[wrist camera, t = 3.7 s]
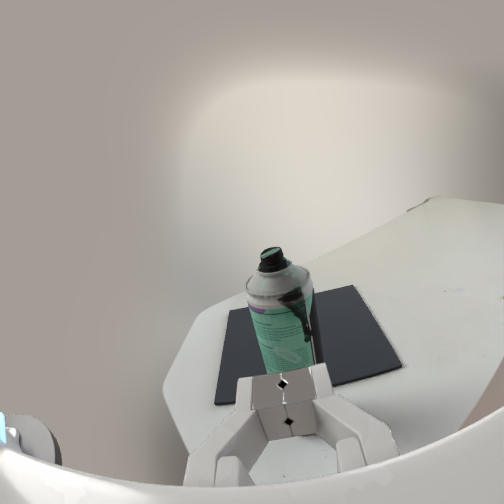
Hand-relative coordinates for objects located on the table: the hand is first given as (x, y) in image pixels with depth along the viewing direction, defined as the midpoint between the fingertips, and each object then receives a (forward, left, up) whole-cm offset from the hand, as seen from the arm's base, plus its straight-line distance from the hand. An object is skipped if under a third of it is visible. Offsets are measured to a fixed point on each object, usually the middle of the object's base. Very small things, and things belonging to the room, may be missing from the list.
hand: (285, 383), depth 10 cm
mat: (+1, +30, -20) cm, 36 cm away
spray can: (0, +14, -20) cm, 25 cm away
